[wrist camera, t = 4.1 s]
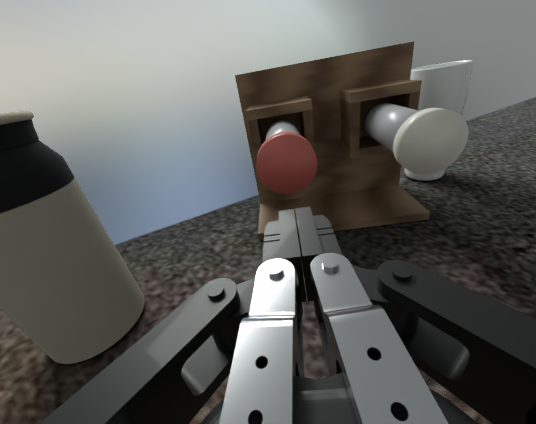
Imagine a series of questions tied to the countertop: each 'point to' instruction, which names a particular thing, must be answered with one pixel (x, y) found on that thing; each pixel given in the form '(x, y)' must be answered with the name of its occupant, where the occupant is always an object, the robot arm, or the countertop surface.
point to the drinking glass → (442, 93)
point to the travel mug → (57, 253)
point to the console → (336, 134)
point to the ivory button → (418, 135)
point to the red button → (285, 159)
